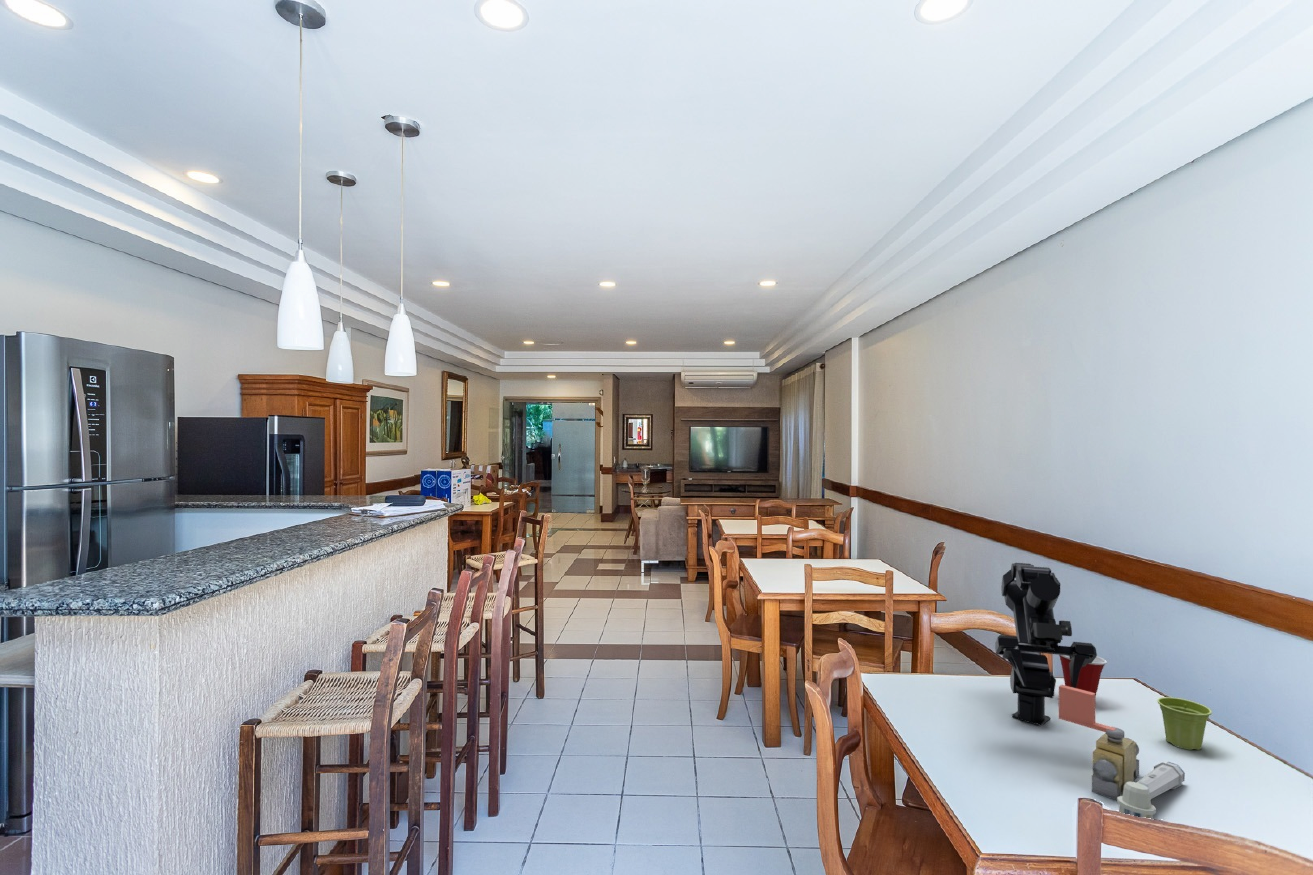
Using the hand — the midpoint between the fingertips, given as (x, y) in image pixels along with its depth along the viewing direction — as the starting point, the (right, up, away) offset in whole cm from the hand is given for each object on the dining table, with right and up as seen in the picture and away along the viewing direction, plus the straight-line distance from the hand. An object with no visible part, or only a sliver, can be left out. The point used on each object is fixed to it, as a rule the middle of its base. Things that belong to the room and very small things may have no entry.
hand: (1049, 688), depth 138 cm
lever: (+3, -4, -9) cm, 11 cm away
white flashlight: (+8, -14, -18) cm, 25 cm away
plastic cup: (+27, -15, +30) cm, 43 cm away
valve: (+5, -14, -13) cm, 19 cm away
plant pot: (+33, -15, +5) cm, 37 cm away
